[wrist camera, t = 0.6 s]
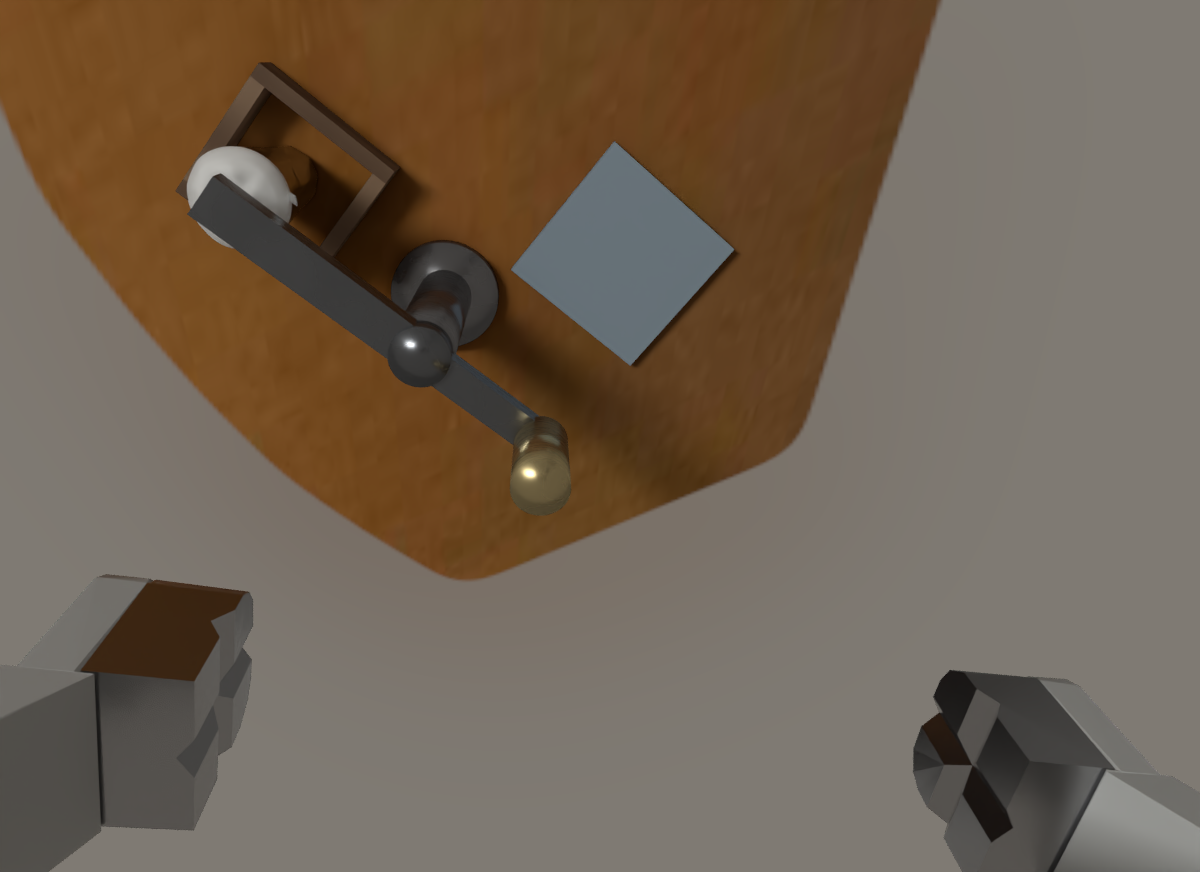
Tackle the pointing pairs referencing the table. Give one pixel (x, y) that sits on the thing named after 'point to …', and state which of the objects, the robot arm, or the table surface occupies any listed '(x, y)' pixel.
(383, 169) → the brown square frame
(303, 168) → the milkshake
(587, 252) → the pad
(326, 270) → the lever
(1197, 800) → the robot arm
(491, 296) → the latch post
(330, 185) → the table surface
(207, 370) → the table surface
